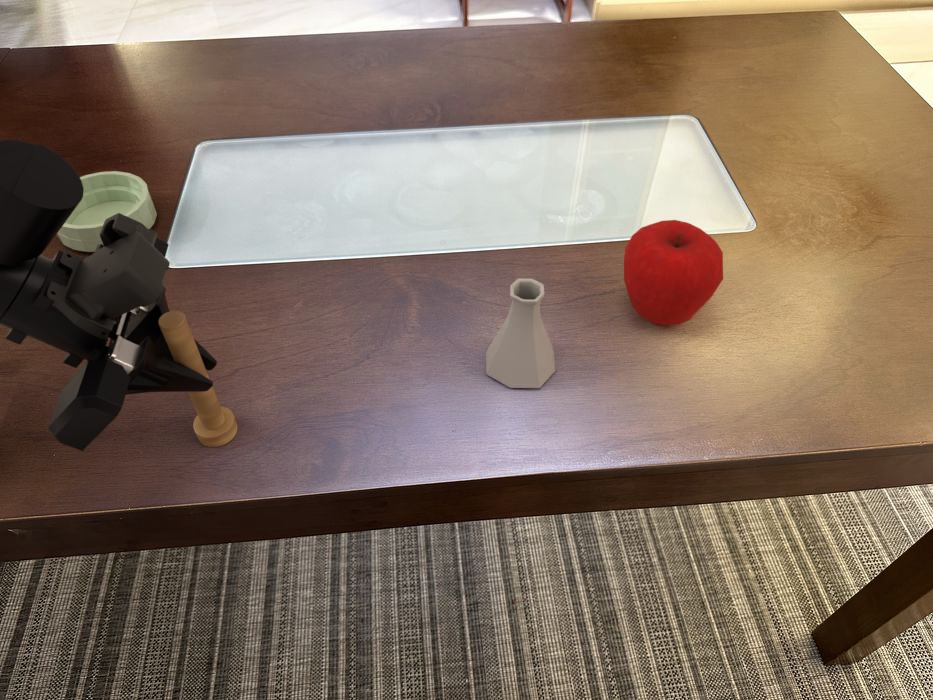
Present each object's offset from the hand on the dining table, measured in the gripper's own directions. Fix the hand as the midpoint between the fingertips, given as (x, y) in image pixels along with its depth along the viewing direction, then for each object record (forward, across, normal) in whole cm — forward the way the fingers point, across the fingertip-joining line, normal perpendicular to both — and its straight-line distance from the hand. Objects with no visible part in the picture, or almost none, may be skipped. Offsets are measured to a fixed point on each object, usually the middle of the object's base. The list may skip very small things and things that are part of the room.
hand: (212, 376), depth 61 cm
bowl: (-8, +32, +18) cm, 38 cm away
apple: (+36, +12, -25) cm, 46 cm away
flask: (+25, +6, -14) cm, 29 cm away
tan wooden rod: (+4, 0, +6) cm, 8 cm away
